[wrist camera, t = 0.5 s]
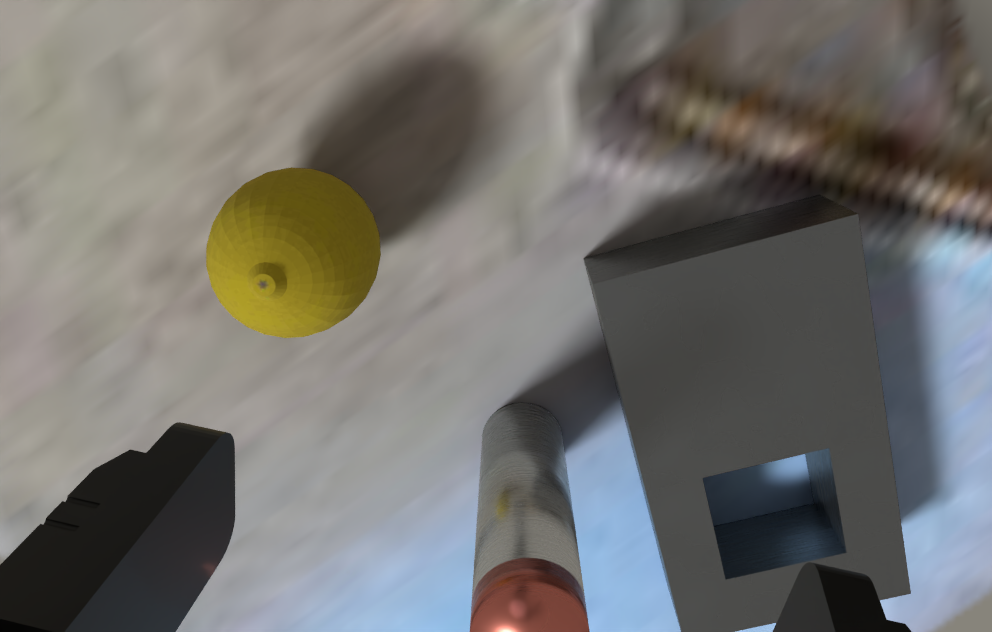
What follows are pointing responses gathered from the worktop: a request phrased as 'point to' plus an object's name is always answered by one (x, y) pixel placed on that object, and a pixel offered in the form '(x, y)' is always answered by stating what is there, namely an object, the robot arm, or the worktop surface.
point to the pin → (525, 529)
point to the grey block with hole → (754, 403)
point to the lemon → (293, 252)
